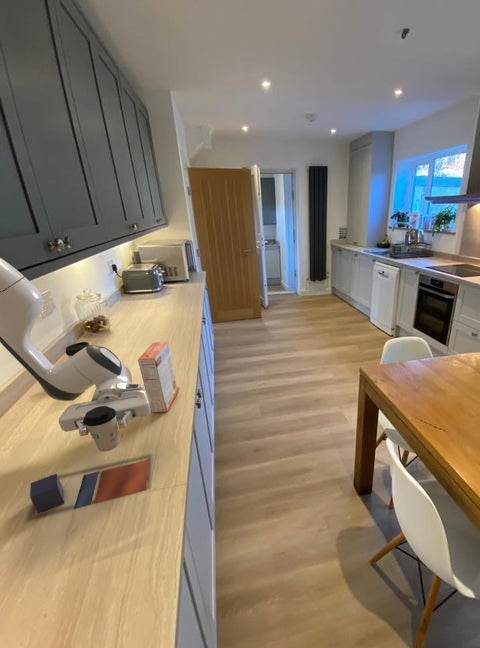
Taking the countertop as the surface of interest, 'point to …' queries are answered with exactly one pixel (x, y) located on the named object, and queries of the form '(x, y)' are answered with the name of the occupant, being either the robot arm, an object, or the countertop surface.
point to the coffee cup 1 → (75, 348)
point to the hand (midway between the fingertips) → (103, 429)
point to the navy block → (47, 493)
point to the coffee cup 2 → (103, 427)
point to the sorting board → (113, 483)
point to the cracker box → (158, 376)
